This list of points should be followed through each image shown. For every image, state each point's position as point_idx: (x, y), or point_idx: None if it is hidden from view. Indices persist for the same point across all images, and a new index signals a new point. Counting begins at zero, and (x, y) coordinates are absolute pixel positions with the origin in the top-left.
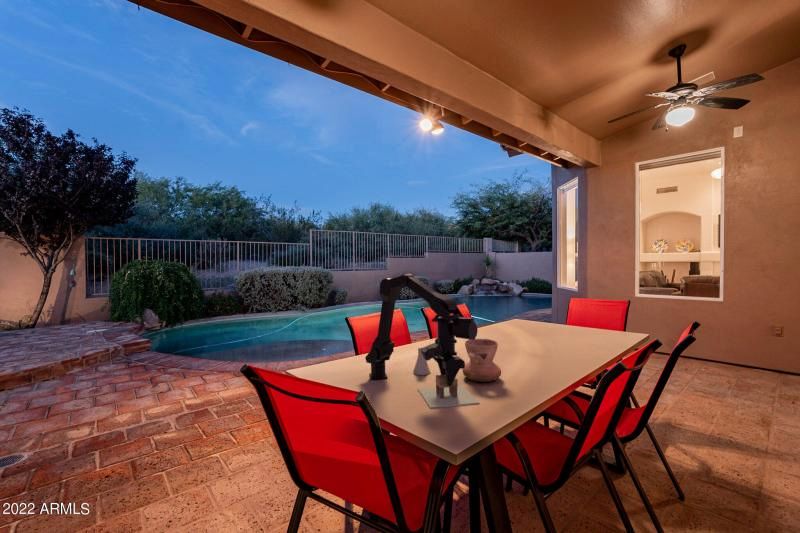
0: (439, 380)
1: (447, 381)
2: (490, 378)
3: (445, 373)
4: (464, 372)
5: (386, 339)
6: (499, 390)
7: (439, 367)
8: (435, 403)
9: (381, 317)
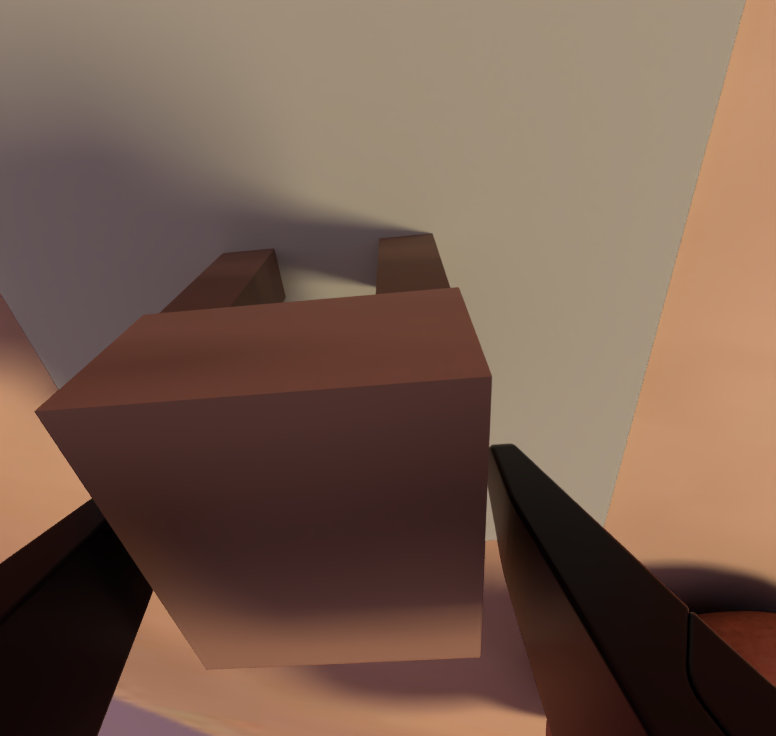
0: (94, 394)
1: (69, 528)
2: (546, 727)
3: (518, 597)
4: (772, 658)
5: None
6: (419, 678)
7: (683, 703)
8: (19, 134)
9: None
